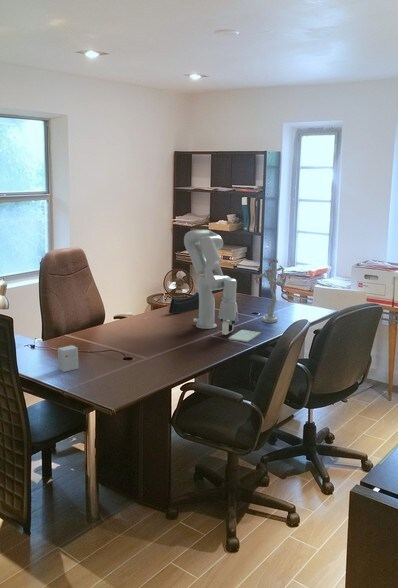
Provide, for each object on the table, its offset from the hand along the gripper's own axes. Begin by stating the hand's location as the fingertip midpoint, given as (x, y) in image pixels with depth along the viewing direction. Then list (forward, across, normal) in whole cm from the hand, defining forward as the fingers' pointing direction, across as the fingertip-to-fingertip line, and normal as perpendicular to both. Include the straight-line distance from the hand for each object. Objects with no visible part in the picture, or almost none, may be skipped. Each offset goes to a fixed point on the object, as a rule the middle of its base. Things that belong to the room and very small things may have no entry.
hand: (227, 330), depth 341 cm
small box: (+2, -41, -93) cm, 101 cm away
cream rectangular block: (+1, 0, 0) cm, 1 cm away
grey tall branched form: (+3, +11, +43) cm, 45 cm away
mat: (+2, +11, 0) cm, 11 cm away
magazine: (+6, -48, +39) cm, 62 cm away
